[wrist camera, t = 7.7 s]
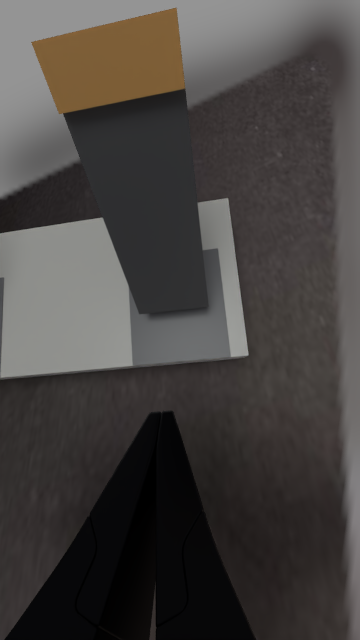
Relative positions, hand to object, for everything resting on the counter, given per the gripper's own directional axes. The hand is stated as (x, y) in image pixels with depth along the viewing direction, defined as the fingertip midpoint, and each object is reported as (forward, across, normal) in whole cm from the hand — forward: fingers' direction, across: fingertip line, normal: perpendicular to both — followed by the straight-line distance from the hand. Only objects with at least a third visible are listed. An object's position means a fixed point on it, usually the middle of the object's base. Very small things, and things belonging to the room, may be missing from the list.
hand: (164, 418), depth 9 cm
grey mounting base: (+11, +6, +1) cm, 12 cm away
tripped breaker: (+6, 0, -1) cm, 6 cm away
